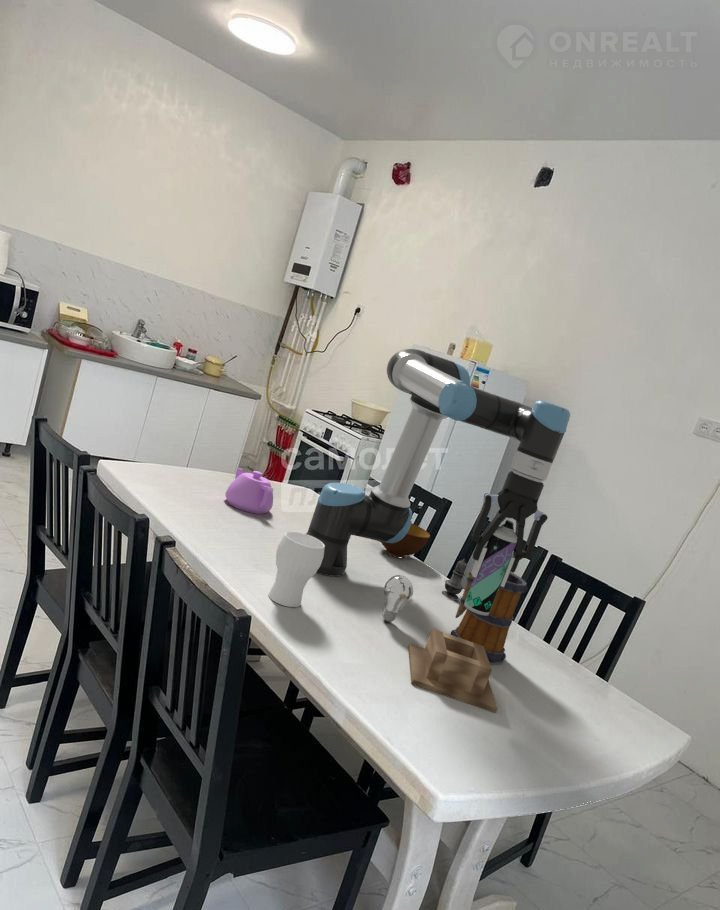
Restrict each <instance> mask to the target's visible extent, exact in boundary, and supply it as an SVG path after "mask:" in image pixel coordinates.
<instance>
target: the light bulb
mask: <svg viewBox="0 0 720 910" xmlns="http://www.w3.org/2000/svg"><path fill="white" fill-rule="evenodd" d="M383 593H384V599H385V603H384V609H383V612H382V615H381V616H382V618H383V619H384V621H385V622H386V623H388V624H389V623H392V622H393V621H395V620H396V618H397V616H398V613H399V612H400V611H401V609H402V608H403V606H404V605H406V604H407V603H408V602H409V601H410V600H411V599H412V597H413V595H414V585H413V583H412V581H411V580H410V579H409V578H408V577H406V576H405V575H401V574H396V575H393V576H391V577H390V578H388V579H387V581H386V582H385V585H384V587H383Z"/></svg>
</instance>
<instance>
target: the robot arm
mask: <svg viewBox="0 0 720 910" xmlns="http://www.w3.org/2000/svg"><path fill="white" fill-rule="evenodd" d="M386 374H387V379H388V380H389V382H390V384H391V385H392V386H393V387H394V388H396V389H398V390H399V391H401V392H404V393H406V394H408V395H411V396H410V398H409V402H410V403H411V406H412V407H411V410H410V412H409V416H408V417H407V420H406V422H405V425H404V427H403V429H402V431H401V434H400V436H399V438H398V441H397V443H396V445H395V448H394V450H393V452H392V455H391V457H390V460H389V462H388V465H387V467H386V468H385V472H384V474H383V475H382V476H383V477H382V479H381V481H380V483H379V484H378V485H376V486H373V487H372V488H371V490H370V493H369V494H368V495H367V494H366V491H365V490H364V489H363V488H361V487H359V486H356V485H352V484H350V483H343V482H329V483H327V484H325V485H324V486H323V487H322V490H321V491H320V492H321V493H320V494H319V496H318V497H317V503H316V506H315V509H314V511H313V515H312V517H311V520H310V523H309V527H308V530H307V532H306V533H305V534H307V535H310V536H312V537H315V538H317V539H318V540H320V541H321V542H322V543H323V544H324V545H325V548H324V557H323V560H322V563H321V565H320V567H319V569H318V570H317V572H316V573H317V574H321V575H324V576H331V577H338V576H339V577H340V576H343V575H345V573H346V570H347V566H348V545H349V542H350V539H351V536H355V537H360V538H364V539H369V540H373V541H377V542H380V543H381V542H387V543H395V542H398V541H400V540H401V539H403V538H404V536H405V535H406V534H407V532H408V530H409V528H410V526H411V523H412V519H413V511H412V509H411V502H410V498H409V495H410V493H411V491H412V489H413V486H414V484H415V483H416V480H417V477H418V476H419V473H420V471H421V468H422V466H423V463H424V462H425V459H426V457H427V455H428V452H429V450H430V448H431V445H432V443H433V441H434V439H435V437H436V435H437V432H438V429H440V425H441V422H442V421H443V420H444V419H447V418H450V420H453V421H457V422H461V423H466V424H469V425H471V426H475V427H478V428H481V429H483V430H487V431H490V432H492V433H496V434H499V435H502V436H504V437H508V438H510V439H514V440H516V441H519V445H518V447H517V449H516V453H515V454H514V457H513V460H512V462H511V465H510V469H512V470H511V471H509V472H508V473H507V476H506V478H505V480H504V483H503V486H502V487H501V488H502V489H501V490H500V491H499V492H498V493H497V494H489V493H488V492H487V493H484V494H483V504H482V506H481V509H480V512H479V514H478V516H477V519H476V521H475V523H474V526H473V528H472V531H471V533H470V537H471V539H472V540H473V541H474V542H475V543H476V545H475V548H474V550H473V553H472V559H473V560H474V561H475V562H474V564H473V567H472V570H471V571H470V572H471V573H472V576H473V577H477V574H478V572H479V569H480V567H481V564H482V561H483V559H484V556H485V553H486V551H487V548H486V545H487V543H488V540H489V539H490V537H491V536H492V535H493V533H494V532H495V531H496V529H497V528H498V527H499V526H501V525H502V523H503V522H504V521H506V518H507V519H513V520H514V521H515V530H514V532H515V534H516V535H517V537H518V538H517V543H516V546H515V548H514V551H513V553H512V556H511V558H510V561H509V564H508V566H507V569H506V571H505V574H504V577H503V579H502V582H501V584H500V586H502V587H504V586H505V583H506V581H507V578H508V576H509V573H510V572H511V573H514V574H515V572H516V570H517V567H518V565H519V562H520V561H521V560H522V559H527V560H529V559H531V557H532V555H533V552H534V548H535V547H536V543H537V540H538V537H539V535H540V532H541V529H542V526H543V525H544V524H545V523H546V521H547V520H548V515H546V513H545V512H542V511H541V510H540V509H539V508H538V502H539V500H540V496H541V494H542V491H543V489H544V487H545V485H544V483H543V481H547V478H548V476H549V473H550V471H551V467H552V465H553V462H554V460H555V458H556V455H557V453H558V451H559V448H560V445H561V443H562V441H563V438H564V435H565V433H566V432H567V427H568V424H569V421H570V419H571V412H570V410H568V409H567V408H564V407H562V406H559V405H557V404H554V403H551V402H548V401H545V400H541V399H538V400H536V401H535V402H534V405H533V407H530V406H528V405H525V404H523V403H521V402H517V401H515V400H511V399H509V398H506V397H502V396H499V395H496V394H493V393H490V392H488V391H485V390H482V389H479V388H477V387H475V386H473V385H471V378H470V377H471V375H470V373H469V370H467V368H466V367H465V366H463V365H461V364H459V363H456V362H455V361H452V360H449V359H446V358H443V357H441V356H438V355H434V354H431V353H429V352H425V351H424V350H420V349H415V348H405V349H401V350H400V351H397V352H396V353H394V354H393V355H392V356H391V357H390V359H389V360H388V363H387V367H386ZM496 502H497V503H498V507H499V509H498V510H497V512H496V514H495V516H494V517H493V519H491V521H490V523H489V524H488V525H487V526H486V528H485V529H484V531H483V532H482V530H483V528H484V525H485V523H486V520H487V517H488V516H489V513H490V511H491V508H492V506H494V505H495V503H496ZM532 515H533V522H532V525H531V529H530V530H529V534H528V537H527V540H526V542H525V545H524V547H523V544H524V535H525V526H526V519H528V518H529V517H531V516H532ZM481 532H482V533H481Z"/></svg>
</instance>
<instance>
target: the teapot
mask: <svg viewBox="0 0 720 910" xmlns="http://www.w3.org/2000/svg"><path fill="white" fill-rule="evenodd" d="M235 472H236V473H235V476H234V480H233V481H232V482H230V484H229V486H228V487H227V489H226V491H225V499H226V501H227V503H228V504H229V505H230V506H232V507H234V508H236V509H238V510H241V511H244V512H247V513H251V514H255V515H256V514H257V515H264V514H266V513H268V512H269V511H270V510H272V508H273V505H274V493H273V492H274V487H272V484H271V482H270V480H269V479H268V478H266V477H263V473H262V472H260V471H257V470H253V471H252V473H251V472H244V469H242V468H240V467H237V468H236V471H235Z"/></svg>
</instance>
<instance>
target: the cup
mask: <svg viewBox="0 0 720 910" xmlns="http://www.w3.org/2000/svg"><path fill="white" fill-rule="evenodd" d="M324 548H325V545H324V544H323V543H322V542H321V541H320V540H318V539H317V538H315V537H312V536H310V535H307V534H306V533H303V532H300V531H294V530H289V531H285V533H284V534H283V536H282V537H281V540H280V541H279V542H278V545H277V547H276V552H275V553H276V554H275V564H276V570H277V571H276V575H275V581H274V582H273V584H272V586H271V588H270V590H269V592H268V597H269V599H270V600H272V601H273V602H275V603H276V604H279V605H282V606H285V607H287V608H289V607H290V608H297V607H300V606H301V604H302V600H303V593H304V589H305V588H306V585H307V583H308V581H309V580H310V579H311V578H312V577H314V576H315V574H316V573H317V570H318V569H319V567H320V565H321V563H322V560H323V557H324Z"/></svg>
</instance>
